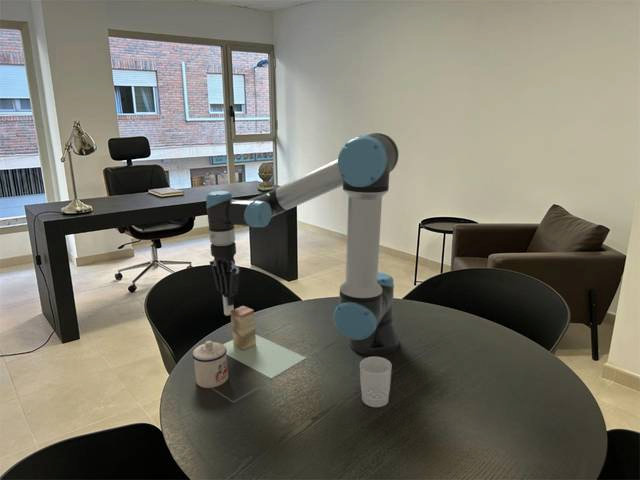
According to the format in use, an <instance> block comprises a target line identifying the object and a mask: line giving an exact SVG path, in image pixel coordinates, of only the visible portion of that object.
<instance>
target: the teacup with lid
mask: <svg viewBox="0 0 640 480" xmlns="http://www.w3.org/2000/svg"><path fill="white" fill-rule="evenodd" d="M223 344H224V343H223ZM223 344H222V343H221V342H215V341H214V342H213V341H212V340H206V341H205V342H204V343H203V344H200V345H198V346H197V347H195V349H194V350H193V351H192V358H193V366H194V370H195V371H194V372H195V373H194V374H195V380H196V384H197V386H199V387H201V388H204V389H213V388H215V387H219V386H221V385H223V384H225V383H226V382H227V380H228V378H229V369H228V357H227V354H226V352H227V349H226V347H225V346H224V345H223Z"/></svg>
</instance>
